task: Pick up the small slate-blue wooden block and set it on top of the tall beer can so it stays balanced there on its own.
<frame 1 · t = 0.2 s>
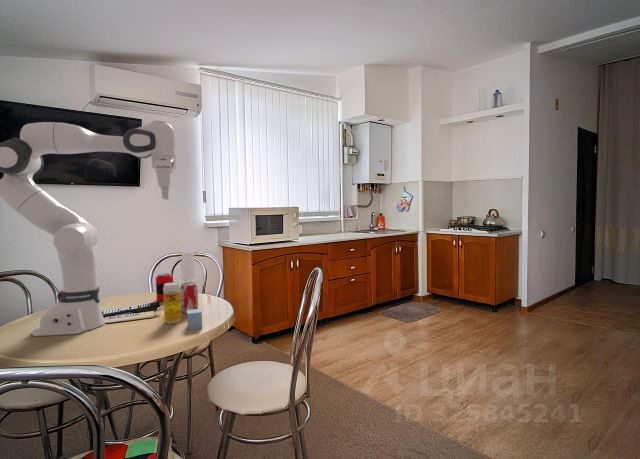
hand: (165, 199, 149), 47 cm above the table, tool pointing down, fingers open, 8 cm apart
slate block: (195, 326, 140), on the table
champagne flute: (189, 305, 170), on the table
beer can: (173, 322, 146), on the table
soda can 2: (189, 312, 160), on the table
soda can: (165, 300, 180), on the table
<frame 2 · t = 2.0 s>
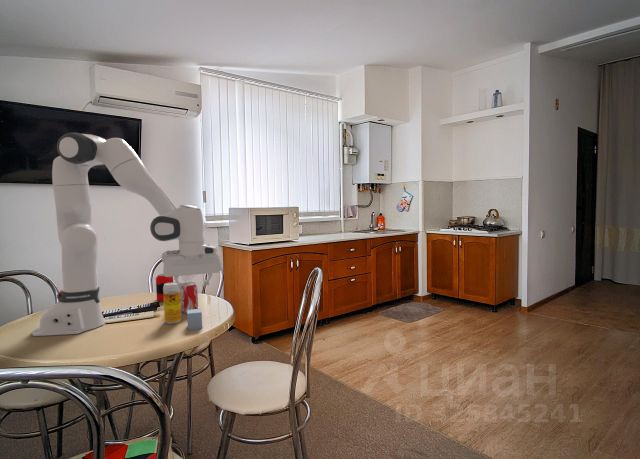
hand: (193, 286, 139), 15 cm above the table, tool pointing down, fingers open, 8 cm apart
nothing on the table moved.
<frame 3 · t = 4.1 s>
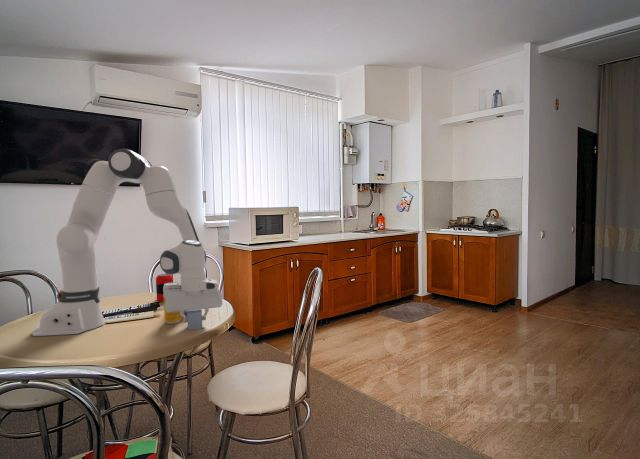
hand: (194, 321, 140), 2 cm above the table, tool pointing down, fingers closed on slate block, 5 cm apart
slate block: (195, 326, 140), on the table, touching gripper
everything else where it was.
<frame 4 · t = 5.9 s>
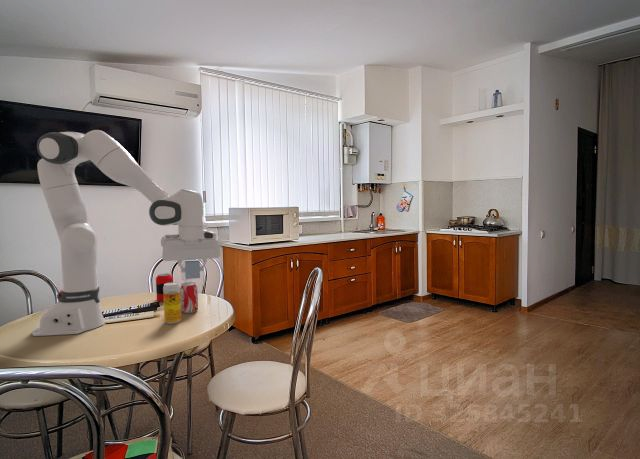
hand: (192, 271, 139), 21 cm above the table, tool pointing down, fingers closed on slate block, 5 cm apart
slate block: (192, 277, 139), point 19 cm above the table, touching gripper
everything else where it was.
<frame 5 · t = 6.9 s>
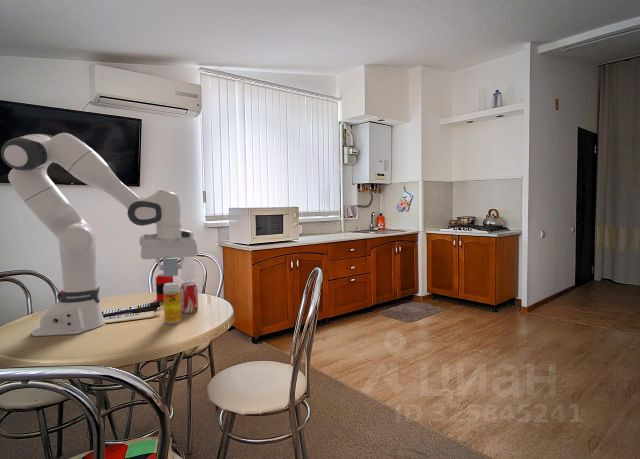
hand: (170, 269, 145), 21 cm above the table, tool pointing down, fingers closed on slate block, 5 cm apart
slate block: (171, 274, 145), point 18 cm above the table, touching gripper
everything else where it was.
when the fingers open (18 cm above the table, at t = 7.8 s): slate block stays where it is, resting on beer can.
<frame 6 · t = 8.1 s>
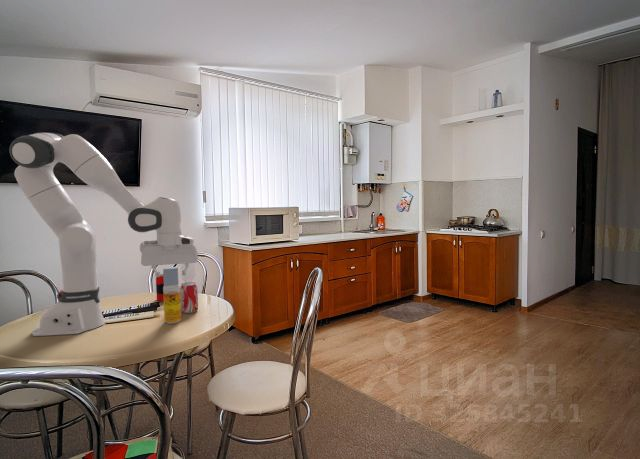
hand: (171, 275, 145), 18 cm above the table, tool pointing down, fingers open, 8 cm apart
slate block: (171, 283, 145), point 15 cm above the table, touching beer can
beer can: (173, 322, 146), on the table, touching slate block
everything else where it was.
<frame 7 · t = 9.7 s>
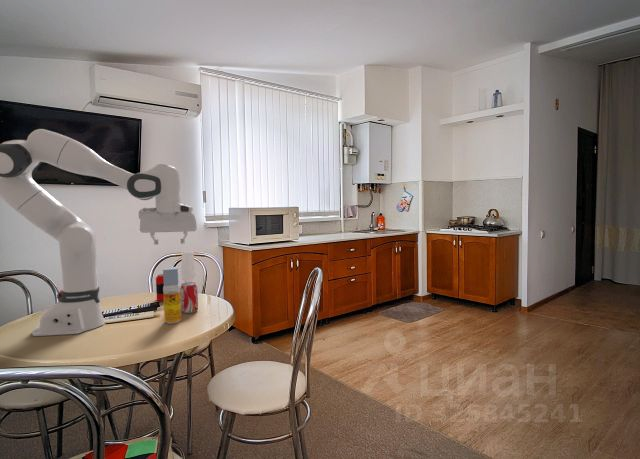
hand: (169, 243, 145), 30 cm above the table, tool pointing down, fingers open, 8 cm apart
nothing on the table moved.
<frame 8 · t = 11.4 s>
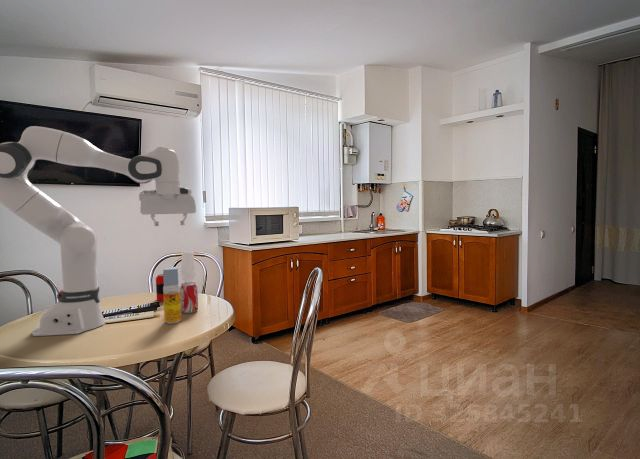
hand: (169, 225, 148), 37 cm above the table, tool pointing down, fingers open, 8 cm apart
nothing on the table moved.
at the end: slate block 0.0 cm off-centre on the beer can, point 15.2 cm above the beer can's base; slate block tilted 0°; beer can tilted 0° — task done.
